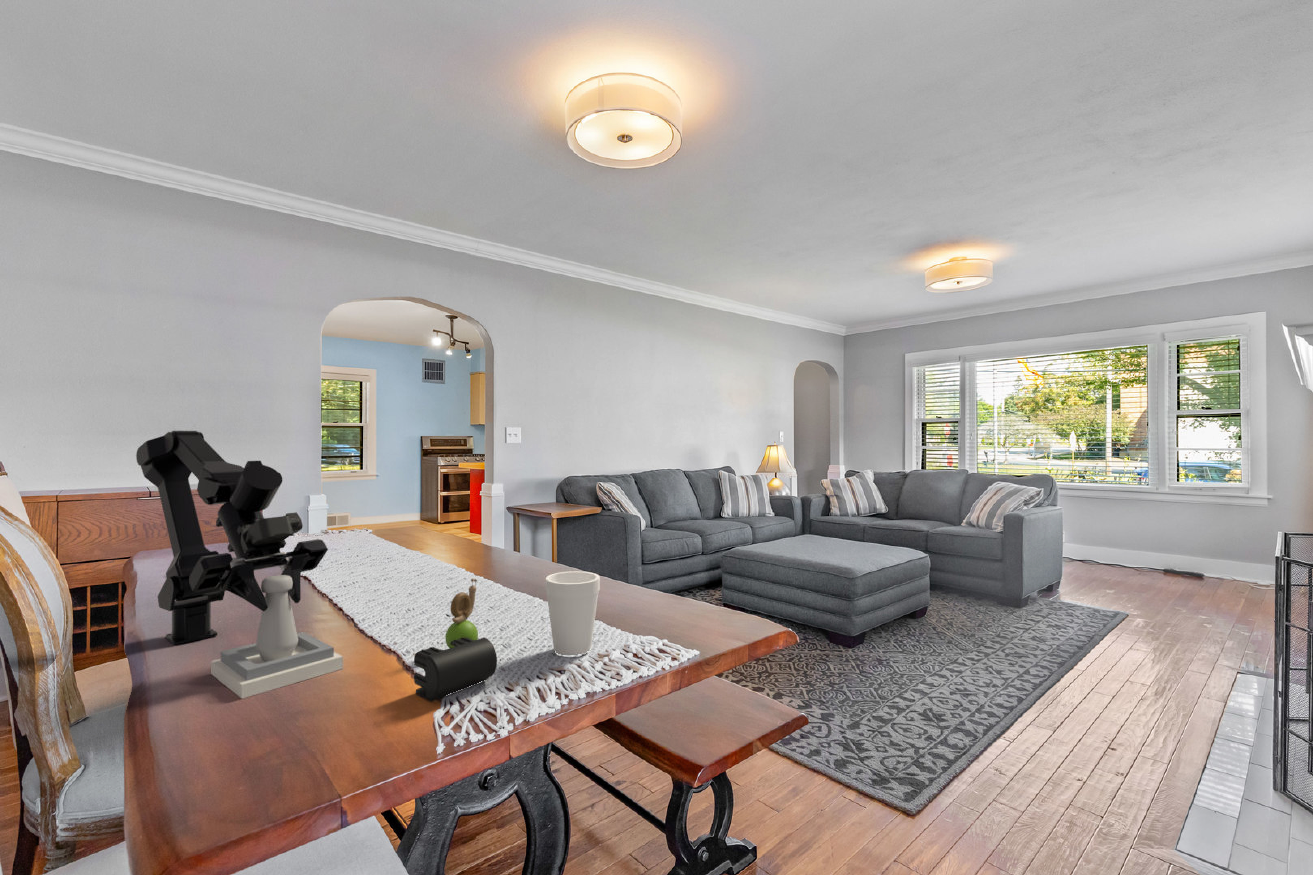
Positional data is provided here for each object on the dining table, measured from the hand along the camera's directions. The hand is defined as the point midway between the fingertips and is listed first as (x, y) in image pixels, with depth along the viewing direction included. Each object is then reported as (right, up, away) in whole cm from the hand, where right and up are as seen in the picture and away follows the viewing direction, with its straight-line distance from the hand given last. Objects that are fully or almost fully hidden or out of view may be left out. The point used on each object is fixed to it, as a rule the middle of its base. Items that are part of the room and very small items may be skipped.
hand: (282, 605), depth 94 cm
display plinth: (-1, -11, +1) cm, 11 cm away
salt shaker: (-1, -9, +1) cm, 9 cm away
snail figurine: (+25, -11, +10) cm, 30 cm away
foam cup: (+45, -11, +10) cm, 47 cm away
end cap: (+29, -11, -6) cm, 32 cm away
